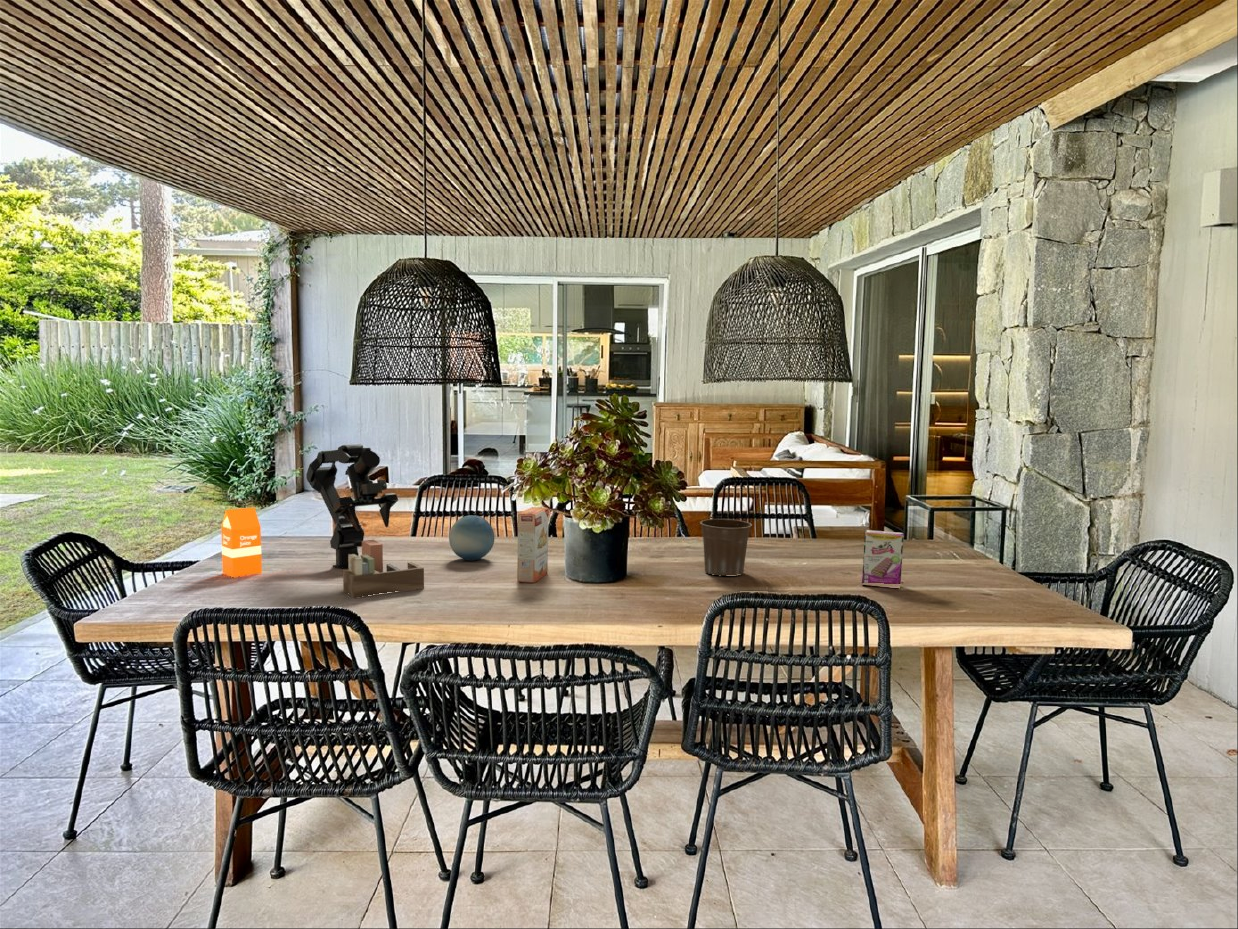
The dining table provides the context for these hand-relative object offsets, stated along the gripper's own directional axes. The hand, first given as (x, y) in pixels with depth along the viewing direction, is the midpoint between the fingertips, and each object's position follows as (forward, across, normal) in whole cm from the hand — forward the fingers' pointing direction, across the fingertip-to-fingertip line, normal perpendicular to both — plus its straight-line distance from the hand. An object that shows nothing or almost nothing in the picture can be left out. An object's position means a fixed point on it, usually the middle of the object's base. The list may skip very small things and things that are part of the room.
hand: (373, 528), depth 246 cm
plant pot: (+47, +86, -49) cm, 109 cm away
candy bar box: (+68, +109, -84) cm, 154 cm away
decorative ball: (+12, +36, +9) cm, 39 cm away
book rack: (+21, -5, -6) cm, 22 cm away
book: (+16, -4, +2) cm, 17 cm away
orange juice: (-2, -28, +33) cm, 44 cm away
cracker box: (+29, +36, -20) cm, 50 cm away
